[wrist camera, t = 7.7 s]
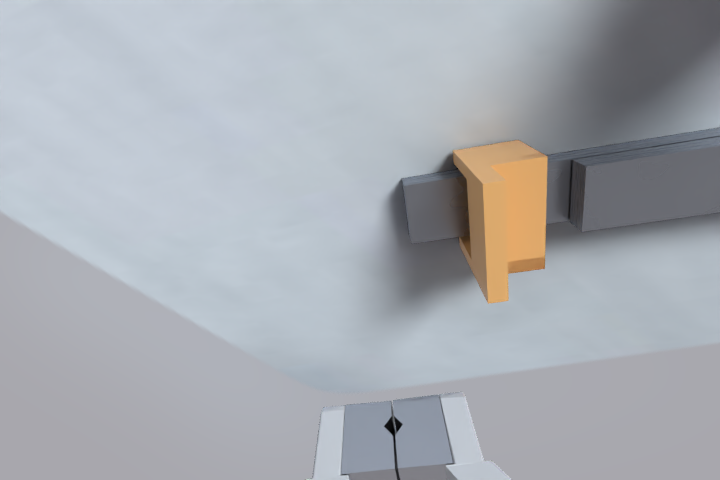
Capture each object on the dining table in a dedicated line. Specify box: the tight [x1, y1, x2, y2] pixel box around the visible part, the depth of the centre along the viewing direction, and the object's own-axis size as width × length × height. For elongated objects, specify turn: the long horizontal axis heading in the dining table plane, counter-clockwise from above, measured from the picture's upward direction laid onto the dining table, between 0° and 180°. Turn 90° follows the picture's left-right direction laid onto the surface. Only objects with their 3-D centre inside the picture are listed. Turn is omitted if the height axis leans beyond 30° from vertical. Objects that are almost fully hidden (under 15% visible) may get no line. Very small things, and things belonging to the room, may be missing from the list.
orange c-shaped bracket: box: [453, 140, 548, 303], centre depth 17 cm, size 3×5×5 cm, turn 10°
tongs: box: [402, 128, 720, 244], centre depth 19 cm, size 28×3×1 cm, turn 100°
